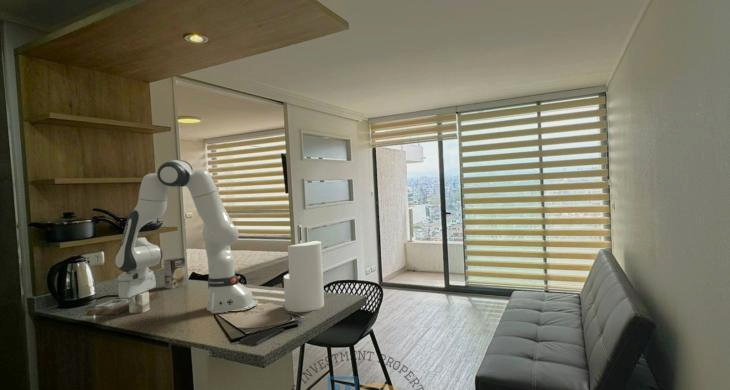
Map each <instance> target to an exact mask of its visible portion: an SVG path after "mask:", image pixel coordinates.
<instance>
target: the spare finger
mask: <svg viewBox="0 0 730 390" xmlns="http://www.w3.org/2000/svg"><path fill="white" fill-rule="evenodd" d="M149 293H150V292H149V291H148V292H143V293H140V294H138V295H135V298H134V299H135V301H137V305H135V306H131V302H130V300H129V309H128V310H129V313H130V314H136V313H138V314H139V313H141V314H142V313H146V312H147V311H149V310H150V308H151V307H150V300H149Z"/></svg>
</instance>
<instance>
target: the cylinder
mask: <svg viewBox="0 0 730 390" xmlns="http://www.w3.org/2000/svg"><path fill="white" fill-rule="evenodd" d="M322 249H323V247H322V241H320V240H313V241H309V242H307V241H306V242H302V243H297V244H292V245H287V256H288V257H287V259H288V260H287V261H288V262H287V263H288V273H286V274H285V275H283V291H284V293H283V294H284V310H285V311H288V312H291V311H292V312H293V313H306V312H312V311H317V310H319V309H322V308H323V307H324V306H325V291H324V274H323V273H324V271H323V269H324V268H323V250H322Z"/></svg>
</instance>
